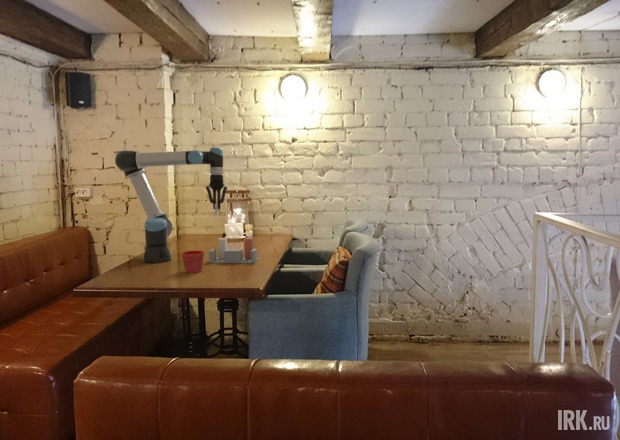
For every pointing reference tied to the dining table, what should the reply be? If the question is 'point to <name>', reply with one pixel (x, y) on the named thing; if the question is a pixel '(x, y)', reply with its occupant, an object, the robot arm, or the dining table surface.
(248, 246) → the red plug
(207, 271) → the dining table surface
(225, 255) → the slot block
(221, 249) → the cream plug
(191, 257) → the flower pot
